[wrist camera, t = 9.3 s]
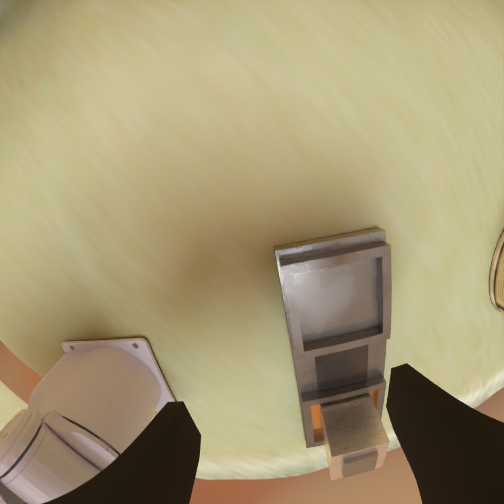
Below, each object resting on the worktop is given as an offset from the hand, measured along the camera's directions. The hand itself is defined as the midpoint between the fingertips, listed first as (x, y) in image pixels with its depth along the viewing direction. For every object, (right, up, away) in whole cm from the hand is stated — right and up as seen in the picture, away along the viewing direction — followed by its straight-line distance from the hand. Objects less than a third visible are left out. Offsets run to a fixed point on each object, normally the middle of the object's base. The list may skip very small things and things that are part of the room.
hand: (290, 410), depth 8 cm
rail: (+5, -3, +12) cm, 13 cm away
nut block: (+6, -8, +12) cm, 15 cm away
